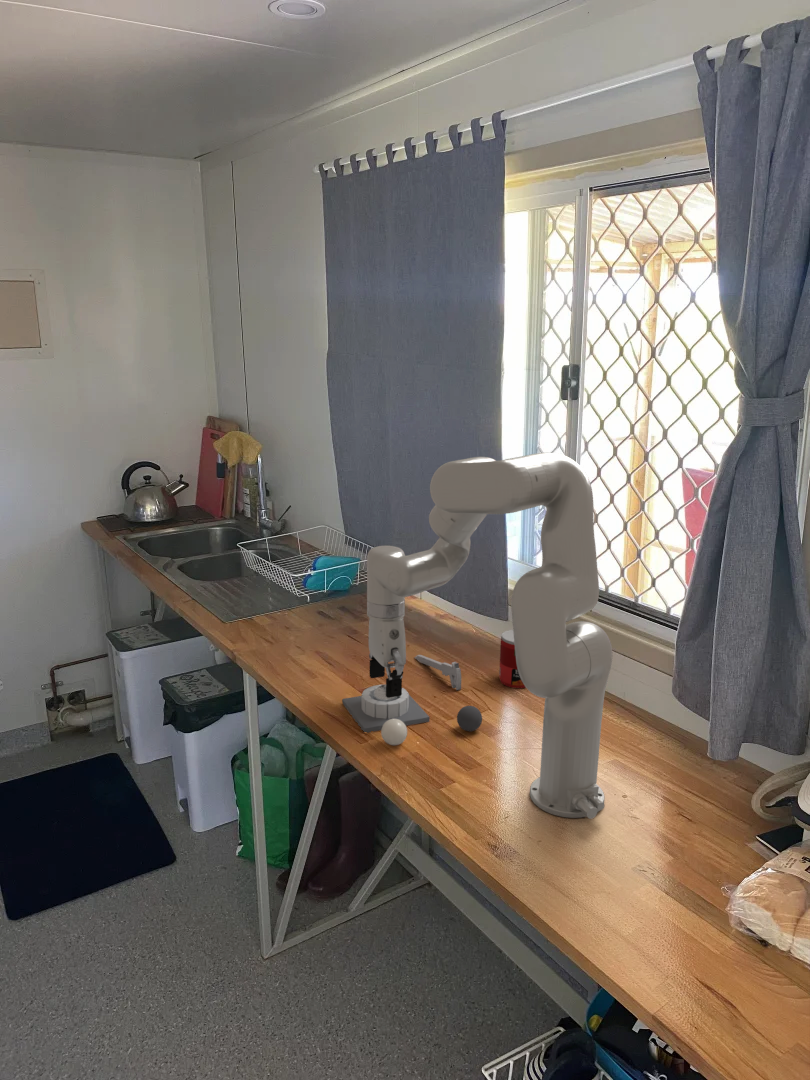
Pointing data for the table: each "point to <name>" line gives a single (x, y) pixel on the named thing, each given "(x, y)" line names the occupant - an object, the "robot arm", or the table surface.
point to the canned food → (509, 662)
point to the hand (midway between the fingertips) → (385, 686)
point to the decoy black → (469, 718)
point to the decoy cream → (394, 731)
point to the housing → (383, 710)
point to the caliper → (444, 669)
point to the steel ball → (382, 694)
